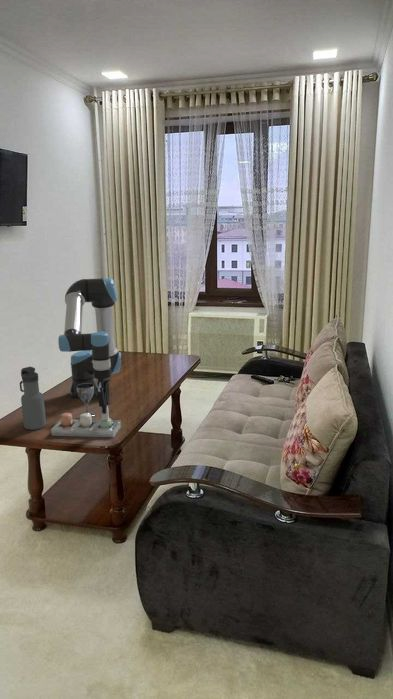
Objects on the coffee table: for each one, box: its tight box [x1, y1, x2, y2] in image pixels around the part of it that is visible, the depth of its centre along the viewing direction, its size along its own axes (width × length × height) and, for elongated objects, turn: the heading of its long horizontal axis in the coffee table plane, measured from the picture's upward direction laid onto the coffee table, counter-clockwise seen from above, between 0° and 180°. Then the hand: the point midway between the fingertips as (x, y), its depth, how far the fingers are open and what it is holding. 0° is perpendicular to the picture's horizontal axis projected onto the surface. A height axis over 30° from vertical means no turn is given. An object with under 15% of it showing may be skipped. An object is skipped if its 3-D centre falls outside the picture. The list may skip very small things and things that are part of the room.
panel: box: [50, 418, 122, 438], centre depth 226 cm, size 12×28×3 cm, turn 83°
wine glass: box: [77, 383, 96, 417], centre depth 244 cm, size 8×8×15 cm
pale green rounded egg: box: [99, 417, 112, 428], centre depth 225 cm, size 5×5×5 cm
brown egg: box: [59, 412, 73, 427], centre depth 227 cm, size 5×5×5 cm
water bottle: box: [19, 366, 47, 431], centre depth 230 cm, size 10×10×28 cm
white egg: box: [79, 412, 93, 427], centre depth 226 cm, size 5×5×5 cm
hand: (105, 419), depth 224 cm, fingers closed
